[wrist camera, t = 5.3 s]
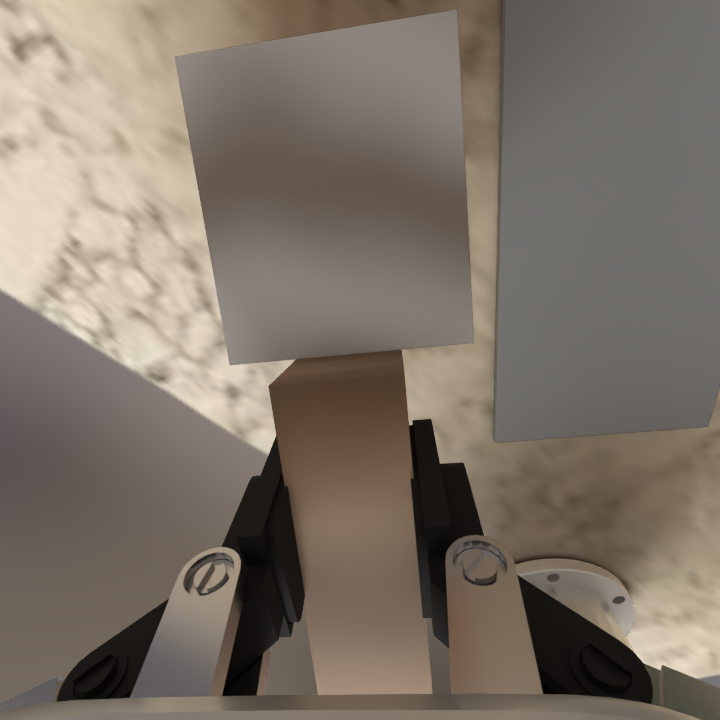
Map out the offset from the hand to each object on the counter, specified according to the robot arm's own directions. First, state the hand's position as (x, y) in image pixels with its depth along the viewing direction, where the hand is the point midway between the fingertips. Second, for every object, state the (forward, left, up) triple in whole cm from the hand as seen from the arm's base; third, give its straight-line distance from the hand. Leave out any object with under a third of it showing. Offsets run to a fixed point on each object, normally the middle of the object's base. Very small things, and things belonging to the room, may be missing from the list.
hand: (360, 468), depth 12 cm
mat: (+4, -13, -11) cm, 18 cm away
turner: (+1, 0, -1) cm, 2 cm away
